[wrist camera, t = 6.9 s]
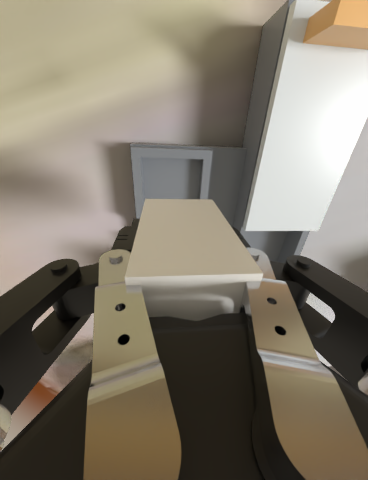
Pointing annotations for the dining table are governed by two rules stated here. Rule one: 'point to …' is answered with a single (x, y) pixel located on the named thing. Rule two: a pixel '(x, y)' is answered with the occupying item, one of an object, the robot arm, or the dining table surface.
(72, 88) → the dining table surface
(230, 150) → the housing
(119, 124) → the dining table surface
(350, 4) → the lid
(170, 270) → the white jaw block
